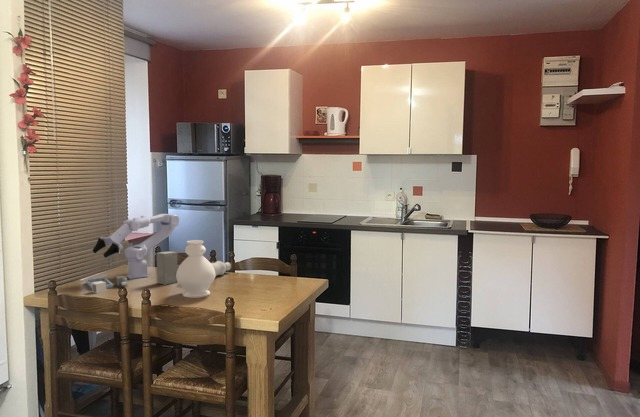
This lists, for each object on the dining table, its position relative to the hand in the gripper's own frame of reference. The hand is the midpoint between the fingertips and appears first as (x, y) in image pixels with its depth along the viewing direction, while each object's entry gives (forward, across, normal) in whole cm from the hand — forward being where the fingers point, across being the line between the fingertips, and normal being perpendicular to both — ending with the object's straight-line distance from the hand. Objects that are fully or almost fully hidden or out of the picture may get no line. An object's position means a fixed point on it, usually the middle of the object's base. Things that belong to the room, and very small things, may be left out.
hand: (99, 253), depth 256 cm
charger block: (+15, +13, +6) cm, 21 cm away
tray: (+10, +4, +12) cm, 16 cm away
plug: (+4, +13, +13) cm, 19 cm away
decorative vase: (-4, +56, +7) cm, 57 cm away
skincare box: (-10, +30, +18) cm, 36 cm away
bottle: (-26, +43, +26) cm, 56 cm away
